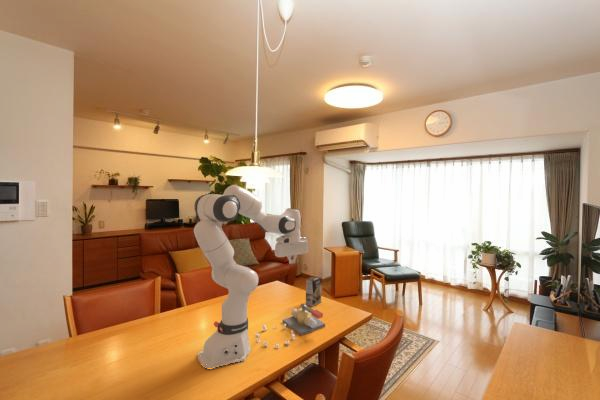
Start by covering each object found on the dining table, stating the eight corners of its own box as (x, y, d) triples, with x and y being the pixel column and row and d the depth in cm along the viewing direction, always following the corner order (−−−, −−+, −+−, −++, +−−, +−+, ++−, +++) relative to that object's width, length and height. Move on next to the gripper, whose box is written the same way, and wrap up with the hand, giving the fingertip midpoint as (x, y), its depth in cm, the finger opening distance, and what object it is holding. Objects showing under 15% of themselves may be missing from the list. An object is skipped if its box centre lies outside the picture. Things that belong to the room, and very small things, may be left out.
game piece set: (250, 333, 139) (250, 326, 138) (286, 324, 148) (286, 317, 148) (263, 354, 121) (263, 345, 121) (302, 342, 131) (303, 334, 130)
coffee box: (313, 306, 170) (313, 281, 170) (305, 304, 174) (305, 279, 174) (321, 302, 177) (321, 277, 177) (313, 299, 181) (313, 275, 181)
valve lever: (299, 308, 148) (299, 304, 148) (304, 306, 150) (304, 303, 150) (317, 318, 135) (317, 314, 135) (322, 317, 137) (322, 313, 137)
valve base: (301, 335, 136) (301, 317, 136) (282, 322, 150) (282, 306, 150) (325, 326, 146) (325, 309, 145) (305, 314, 159) (305, 299, 159)
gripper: (304, 235, 158) (303, 259, 158) (273, 238, 146) (273, 264, 146) (310, 237, 153) (310, 262, 153) (279, 240, 141) (279, 267, 141)
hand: (292, 263), depth 149 cm, fingers closed
